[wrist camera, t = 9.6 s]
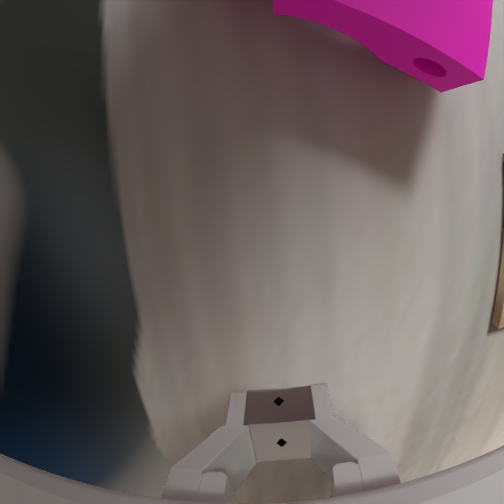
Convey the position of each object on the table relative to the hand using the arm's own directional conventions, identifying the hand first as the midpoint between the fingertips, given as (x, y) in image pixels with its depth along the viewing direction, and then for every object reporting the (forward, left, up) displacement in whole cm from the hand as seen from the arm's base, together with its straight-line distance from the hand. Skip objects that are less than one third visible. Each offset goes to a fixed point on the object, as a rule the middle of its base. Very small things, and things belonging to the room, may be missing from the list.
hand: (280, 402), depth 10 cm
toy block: (-17, +6, -5) cm, 18 cm away
